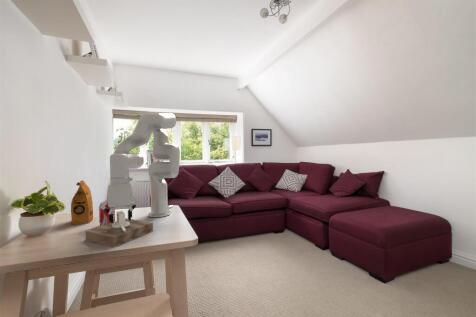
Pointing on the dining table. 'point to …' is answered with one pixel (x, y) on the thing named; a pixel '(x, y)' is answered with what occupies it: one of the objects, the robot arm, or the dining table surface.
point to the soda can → (105, 216)
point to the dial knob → (121, 221)
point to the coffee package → (82, 205)
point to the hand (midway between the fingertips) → (120, 220)
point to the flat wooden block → (118, 233)
